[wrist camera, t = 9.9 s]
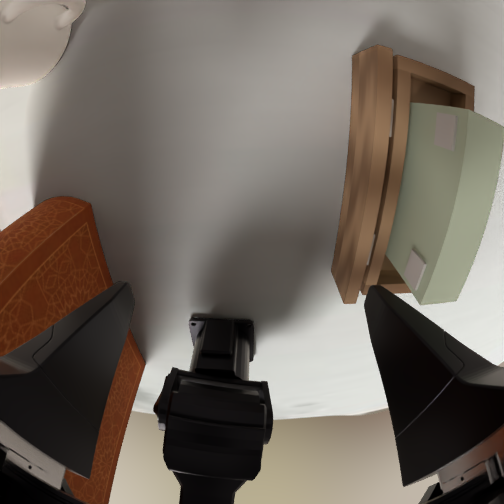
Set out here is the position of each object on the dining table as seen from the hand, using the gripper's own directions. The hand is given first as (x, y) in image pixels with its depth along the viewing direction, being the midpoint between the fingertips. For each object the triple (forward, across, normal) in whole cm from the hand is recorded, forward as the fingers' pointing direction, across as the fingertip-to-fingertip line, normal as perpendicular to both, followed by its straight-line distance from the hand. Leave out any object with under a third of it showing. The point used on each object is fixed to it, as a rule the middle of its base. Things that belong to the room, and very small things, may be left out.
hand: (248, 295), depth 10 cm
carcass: (+12, -12, -2) cm, 17 cm away
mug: (+12, +17, -16) cm, 26 cm away
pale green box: (+10, -12, -2) cm, 16 cm away
